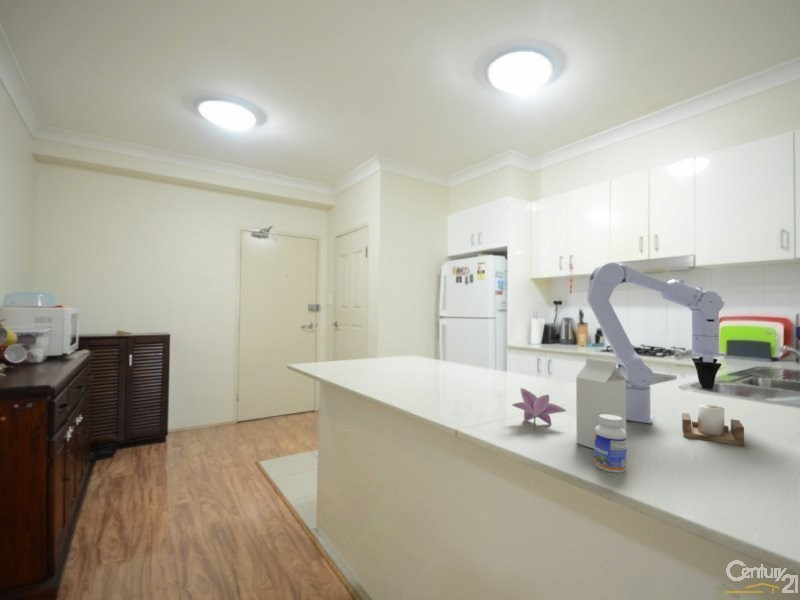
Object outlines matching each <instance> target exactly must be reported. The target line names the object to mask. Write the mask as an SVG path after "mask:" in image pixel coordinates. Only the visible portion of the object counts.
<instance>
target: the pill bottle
mask: <svg viewBox="0 0 800 600" xmlns="http://www.w3.org/2000/svg"><path fill="white" fill-rule="evenodd" d="M599 423H600V425H598V426H596V427H595V449H594V456H593V457H594V458H593V459H594V465H595V467H597V468H598V469H599V470H601V471H604V472H607V473H617V474H618V473H619V474H620V473H621V474H622V473H624V472H626V470H627V431H626V432H625V430H624V429H622V428H621V426H622V425H623V420H622V418H621V417H619V416H616V415H610V414H601V415H599Z"/></svg>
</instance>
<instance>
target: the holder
mask: <svg viewBox="0 0 800 600" xmlns="http://www.w3.org/2000/svg"><path fill="white" fill-rule="evenodd" d="M681 414H682V415H681V418H682V419H681V420H682V421H681V422H682V423H681V430H682V435H683V438H691V439H696V440H697V439H698V440H703V441H711V442H716V443H723V444H730V445H736V446H741V447H745V446H746V445H745V444H746V442H745V426H743V424H742V423H741V420H739V419H732V418H731V419H730V430H729V425H725V424H724V435H711V434H706V433H702V432H700V431H698V421H694V420H692V418H691V414H690V413H685V412H682V413H681Z"/></svg>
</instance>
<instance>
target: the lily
mask: <svg viewBox="0 0 800 600" xmlns="http://www.w3.org/2000/svg"><path fill="white" fill-rule="evenodd" d="M520 394H521V397H522V401H523V402H520V401H519V402H515V403H513V404H511V406H512V407H514V408H517V409H520V410H522V411H524V412H523V420H524V421H526V422H527V421H531V420H533V431H535V432H536V420H537V419H536V418H538V419H540V420H542V421H543V422H544V423H546V424H548V425H550V426H552V418H551V416H550V415H552V414H553V415H554V414H556V413H557V414H559V413H563V412H564V413H565V412H566V411H567V410H566V409H565V408H563V407H561V406H559V405H557V404H555V403H549V402H550V395H549V394H544V395H540V396H539V397H537V396H536V395H535V394H534V393H533V392H531V391H529V390H527V389H525V388H523V387H520Z"/></svg>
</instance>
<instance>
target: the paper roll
mask: <svg viewBox="0 0 800 600" xmlns="http://www.w3.org/2000/svg"><path fill="white" fill-rule="evenodd" d="M697 422H698V431H700V432H702V433H706V434H711V435H724V425H725V408H724V407H721V406H717V405H713V404H712V405H711V404H697Z"/></svg>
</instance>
